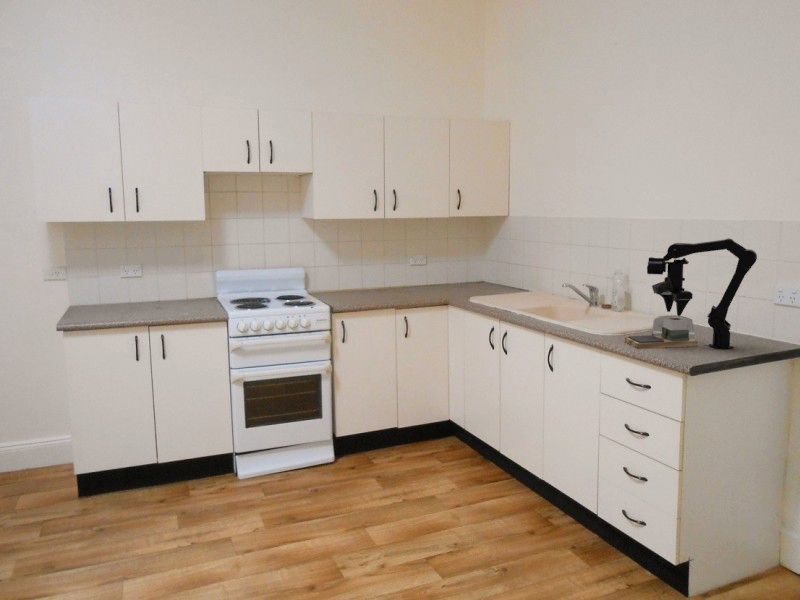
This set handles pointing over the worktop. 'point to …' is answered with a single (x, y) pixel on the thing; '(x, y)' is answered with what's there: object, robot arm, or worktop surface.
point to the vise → (666, 340)
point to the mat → (646, 339)
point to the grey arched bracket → (659, 324)
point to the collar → (675, 323)
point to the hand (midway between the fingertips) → (673, 313)
